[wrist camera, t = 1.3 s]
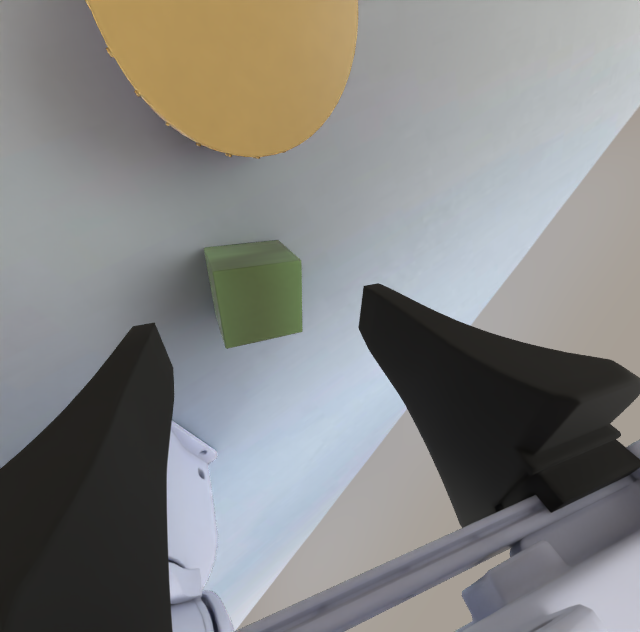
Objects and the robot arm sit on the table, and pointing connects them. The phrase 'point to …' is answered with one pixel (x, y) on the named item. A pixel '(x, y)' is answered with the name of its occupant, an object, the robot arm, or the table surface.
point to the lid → (234, 65)
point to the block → (255, 291)
